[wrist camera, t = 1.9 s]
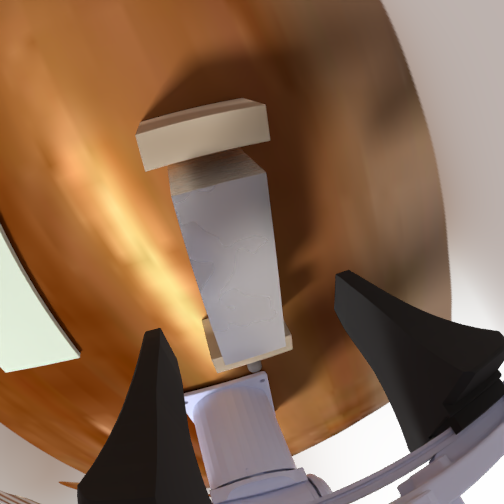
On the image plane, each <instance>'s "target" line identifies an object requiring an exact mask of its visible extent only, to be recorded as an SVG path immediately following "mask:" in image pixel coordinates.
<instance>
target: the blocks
mask: <svg viewBox="0 0 504 504" xmlns="http://www.w3.org/2000/svg"><path fill="white" fill-rule="evenodd" d="M135 136H136V139H137V143H138V147H139V150H140V154H141V158H142V161H143V165H144V168H145V172H146V171H149V170H153V169H156V168H160V167H163V166H167V165H170V164H174V163H177V162H181V161H185V160H188V159H192V158H196V157H200V156H204V155H208V154H212V153H216V152H220V151H224V150H229V149H233V148H238V147H242V146H247V145H251V144H256V143H261V142H266V141H270V134H269V126H268V119H267V112H266V105H265V104H262V103H259V102H255V101H252V100H248V99H245V98H239V99H233V100H228V101H223V102H218V103H213V104H209V105H204V106H200V107H195V108H191V109H187V110H183V111H179V112H175V113H171V114H167V115H164V116H160V117H156V118H153V119H149V120H146V121H142V122H140V124H139V127H138V129H137V132H136V135H135ZM283 322H284V320H283ZM202 323H203V327H204V331H205V335H206V339H207V343H208V347H209V351H210V355H211V359H212V362H213V364H214V366H215V369H216V371H217V373H220V372H223V371H227V370H230V369H234V368H237V367H240V366H243V365H247V367H248V370H249V371H250V372H258V371H260V370H261V368H262V365H261V360H262V359H265V358H269V357H272V356H275V355H277V354H280V353H283V352H286V351H289V350H292V349H293V348H292V336H291V333H290V331H289V329H288V327H287V325H286V323H285V322H284V332H285V342H286V347H283V348H280V349H277V350H274V351H271V352H268V353H265V354H262V355H258V356H255V357H252V358H249V359H246V360H242V361H239V362H236V363H232V364H229V365H225V363H224V360H223V357H222V355H221V352H220V349H219V346H218V343H217V341H216V338H215V335H214V332H213V329H212V326H211V323H210V320H209V318H207V319H204V320H202Z"/></svg>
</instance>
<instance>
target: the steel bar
mask: <svg viewBox="0 0 504 504" xmlns="http://www.w3.org/2000/svg"><path fill="white" fill-rule="evenodd" d="M167 166H168V175H169V182H170V190H171V197H172V201H173V204H174V208H175V211H176V215H177V218H178V222H179V225H180V229H181V232H182V236H183V239H184V242H185V246H186V249H187V252H188V255H189V259H190V262H191V265H192V268H193V272H194V275H195V278H196V281H197V284H198V287H199V290H200V293H201V296H202V300H203V303H204V306H205V309H206V312H207V315H208V317H209V320H210V323H211V326H212V329H213V332H214V335H215V338H216V341H217V343H218V346H219V349H220V352H221V355H222V357H223V360H224V363H225V365H229V364H232V363H236V362H239V361H242V360H246V359H249V358H252V357H255V356H258V355H262V354H265V353H268V352H271V351H274V350H277V349H280V348H283V347H286V342H285V332H284V322H283V312H282V303H281V293H280V284H279V275H278V266H277V257H276V249H275V240H274V231H273V223H272V215H271V207H270V199H269V191H268V183H267V175H266V172H265V171H264V170H263V169H262V168H261V167H260V166H259V165H258V164H257V163H255V162H254V161H253V160H252V159H251V158H250V157H249V156H248V155H247V154H246V153H245V152H244V151H242V150H241V149H240V148H239V147H238V148H233V149H229V150H224V151H220V152H216V153H212V154H208V155H204V156H200V157H196V158H192V159H188V160H185V161H181V162H177V163H174V164H170V165H167Z"/></svg>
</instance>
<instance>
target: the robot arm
mask: <svg viewBox="0 0 504 504" xmlns="http://www.w3.org/2000/svg"><path fill="white" fill-rule="evenodd" d="M334 310H335V312H336V314H337V316H338V318H339V320H340V322H341V323H342V325H343V327H344V329H345V330H346V332H347V333H348V335H349V336H350V338H351V339H352V341H353V342H354V343H355V345H356V346H357V348H358V349H359V350H360V352H361V353H362V355H363V356H364V358H365V359H366V360H367V362H368V363H369V365H370V366H371V368H372V369H373V371H374V372H375V374H376V376H377V378H378V380H379V382H380V383H381V385H382V387H383V389H384V391H385V393H386V395H387V397H388V399H389V401H390V403H391V405H392V408H393V410H394V412H395V414H396V417H397V419H398V422H399V424H400V427H401V429H402V432H403V435H404V437H405V440H406V443H407V446H408V449H409V451H410V452H411V453H410V454H408V455H407V456H405V457H403V458H402V459H400V460H398V461H396V462H395V463H393V464H391V465H389V466H387V467H385V468H384V469H382V470H380V471H378V472H376V473H374V474H372V475H370V476H368V477H366V478H364V479H362V480H360V481H357V482H355V483H353V484H351V485H349V486H347V487H344V488H342V489H340V490H337V491H335V492H333V493H332V491H331V489H330V488H329V486H328V485H327V484H326V483H325V481H324V480H322V479H321V478H319V477H317V476H315V475H313V474H308V475H306V474H305V471H304V469H303V468H298V469H297V468H296V466H295V463H294V461H293V458H292V456H291V453H290V451H289V449H288V446H287V444H286V441H285V439H284V437H283V434H282V432H281V429H280V427H279V424H278V422H277V419H276V417H275V416H276V415H275V411H274V406H273V401H272V396H271V392H270V387H269V382H268V377H267V374H266V372H264V371H261V372H257V373H254V374H251V375H248V376H244V377H241V378H238V379H235V380H231V381H228V382H224V383H221V384H217V385H214V386H210V387H206V388H203V389H199V390H195V391H191V392H187V393H184V392H183V384H182V379H181V374H180V370H179V366H178V362H177V358H176V357H175V355H174V353H173V351H172V349H171V347H170V345H169V343H168V342H167V340H166V338H165V336H164V334H163V332H162V330H161V328H158V329H154V330H150V331H147V332H145V334H144V338H143V342H142V346H141V350H140V354H139V358H138V362H137V365H136V368H135V372H134V375H133V379H132V382H131V385H130V388H129V391H128V393H127V396H126V399H125V402H124V404H123V407H122V410H121V412H120V414H119V417H118V419H117V421H116V423H115V425H114V427H113V430H112V432H111V434H110V436H109V438H108V440H107V441H106V443H105V445H104V447H103V448H102V450H101V452H100V453H99V455H98V457H97V458H96V460H95V462H94V463H93V465H92V466H91V468H90V469H89V471H88V472H87V473H86V475H85V476H84V478H83V479H82V481H81V482H80V483H79V484H78V489H77V497H78V504H349V503H352V502H354V501H356V500H358V499H360V498H363V497H365V496H366V495H369V494H371V493H373V492H375V491H377V490H379V489H381V488H382V487H384V486H386V485H388V484H390V483H392V482H394V481H395V480H397V479H399V478H401V477H402V476H404V475H406V474H407V473H409V472H411V471H413V470H414V469H416V468H417V467H419V466H421V465H422V464H424V463H425V462H427V461H428V460H430V462H429V465H427V466H426V467H424V468H423V469H422V470H420V471H419V472H417V473H415V474H414V475H412V476H411V477H410V478H409V479H408V480H407V481H405V482H403V483H402V484H400V485H399V486H398V487H397V489H398V490H399V492H400V494H401V497H400V498H398V499H397V500H395V501H393V502H391V503H389V504H464V502H463V500H462V499H461V497H460V495H461V494H463V493H464V492H465V491H466V490H467V489H468V488H470V487H471V486H472V485H473V484H474V483H475V482H476V481H477V480H479V479H480V478H481V477H482V476H483V475H484V474H485V473H486V472H487V471H488V470H489V469H490V468H491V467H492V466H493V465H494V464H495V463H496V462H497V461H498V460H499V459H500V458H501V457H502V456H503V455H504V381H503V382H502V381H501V380H500V379H499V378H500V377H501V373H500V372H499V371H498V368H499V367H500V365H501V364H502V363H503V361H504V336H503V335H502V334H501V333H500V332H499V331H493V330H486V329H480V328H475V327H471V326H466V325H462V324H458V323H455V322H452V321H449V320H446V319H443V318H440V317H437V316H434V315H432V314H429V313H427V312H425V311H422V310H420V309H418V308H416V307H413V306H411V305H409V304H407V303H405V302H403V301H401V300H400V299H398V298H396V297H394V296H392V295H390V294H389V293H387V292H385V291H383V290H382V289H380V288H378V287H377V286H375V285H373V284H372V283H370V282H368V281H367V280H365V279H363V278H362V277H360V276H358V275H357V274H355V273H353V272H351V271H350V270H347V271H344V272H341V273H338V274H336V281H335V304H334ZM186 413H187V414H188V416H189V417H190V418H191V420H192V421H193V422H194V424H195V427H196V432H197V436H198V440H199V445H200V449H201V453H202V457H203V461H204V465H205V469H206V473H207V476H208V480H209V484H210V488H211V490H210V495H211V498H212V501H211V500H210V498H209V496H208V493H207V490H206V487H205V485H204V482H203V479H202V476H201V473H200V470H199V467H198V463H197V460H196V457H195V453H194V450H193V446H192V443H191V439H190V434H189V429H188V422H187V415H186ZM431 458H432V459H431ZM212 502H213V503H212Z"/></svg>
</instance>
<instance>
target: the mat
mask: <svg viewBox="0 0 504 504" xmlns="http://www.w3.org/2000/svg"><path fill="white" fill-rule="evenodd" d="M76 358H80V353H79V351H78V350H77V349H76V347H75V346H74V345H73V343H72V342H71V341H70V339H69V338H68V337H67V335H66V334H65V332H64V331H63V330H62V328H61V327H60V325H59V324H58V322H57V321H56V320H55V318H54V317H53V315H52V314H51V312H50V311H49V309H48V308H47V306H46V305H45V303H44V301H43V300H42V298H41V297H40V295H39V294H38V292H37V290H36V289H35V287H34V285H33V284H32V282H31V280H30V279H29V277H28V275H27V273H26V272H25V270H24V268H23V266H22V265H21V263H20V261H19V259H18V257H17V256H16V254H15V252H14V250H13V248H12V246H11V244H10V242H9V240H8V238H7V236H6V234H5V232H4V230H3V228H2V226H1V224H0V367H1V368H2V369H3V370H4V371H5V372H11V371H17V370H22V369H27V368H33V367H38V366H43V365H48V364H53V363H58V362H62V361H67V360H72V359H76Z"/></svg>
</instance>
